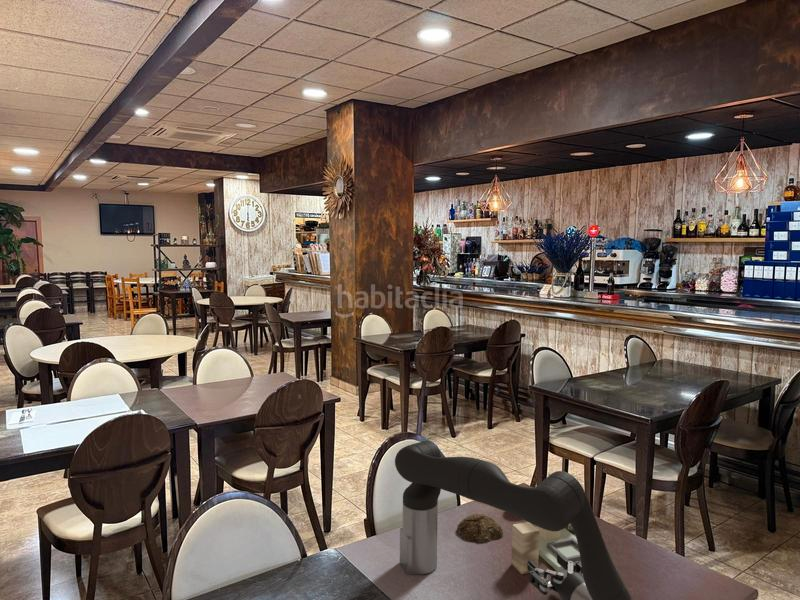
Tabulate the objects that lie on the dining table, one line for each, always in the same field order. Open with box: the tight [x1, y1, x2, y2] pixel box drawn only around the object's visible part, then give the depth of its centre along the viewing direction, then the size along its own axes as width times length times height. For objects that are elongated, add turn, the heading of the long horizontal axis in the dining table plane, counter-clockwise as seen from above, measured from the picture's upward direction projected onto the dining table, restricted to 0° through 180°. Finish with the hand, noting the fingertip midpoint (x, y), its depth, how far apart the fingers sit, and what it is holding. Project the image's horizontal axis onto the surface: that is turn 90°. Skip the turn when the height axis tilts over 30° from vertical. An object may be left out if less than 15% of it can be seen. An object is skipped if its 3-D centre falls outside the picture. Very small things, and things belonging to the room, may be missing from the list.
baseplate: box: [535, 525, 581, 571], centre depth 157 cm, size 14×20×12 cm
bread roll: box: [456, 513, 504, 543], centre depth 166 cm, size 13×12×5 cm
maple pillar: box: [511, 521, 540, 575], centre depth 147 cm, size 5×5×11 cm
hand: (543, 560), depth 139 cm, fingers open, 8 cm apart
